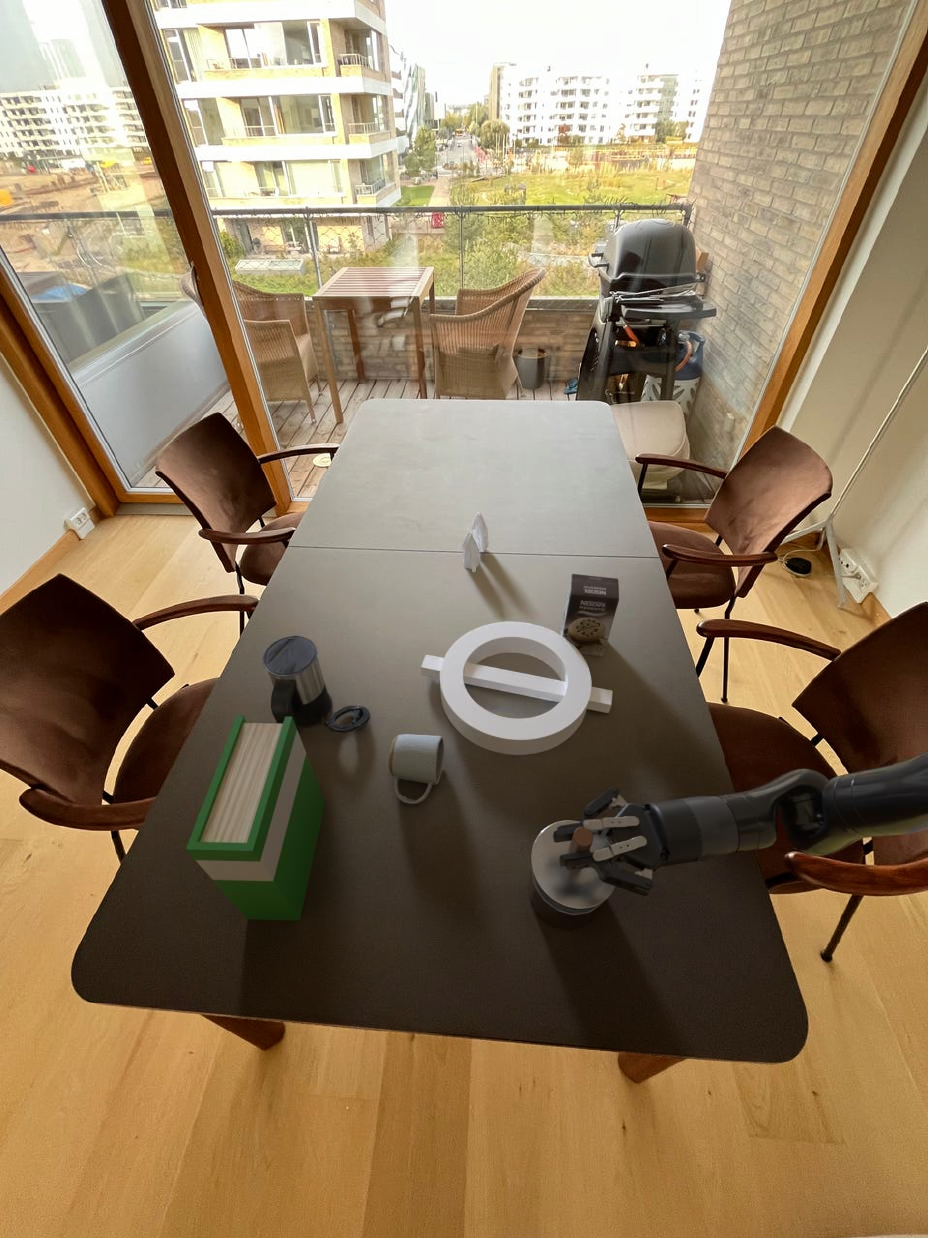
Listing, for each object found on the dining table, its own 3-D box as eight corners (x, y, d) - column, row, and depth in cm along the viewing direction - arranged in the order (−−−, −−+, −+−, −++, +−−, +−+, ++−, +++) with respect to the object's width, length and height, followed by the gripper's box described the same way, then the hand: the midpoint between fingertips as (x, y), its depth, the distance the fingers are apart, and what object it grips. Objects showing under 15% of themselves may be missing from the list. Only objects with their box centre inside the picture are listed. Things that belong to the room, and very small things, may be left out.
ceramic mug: (399, 747, 97) (394, 723, 91) (445, 752, 96) (443, 728, 91) (385, 804, 90) (380, 781, 84) (435, 810, 89) (433, 787, 83)
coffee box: (558, 652, 113) (569, 594, 101) (560, 630, 117) (570, 572, 106) (604, 658, 111) (619, 599, 100) (603, 635, 116) (618, 577, 105)
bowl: (615, 905, 79) (625, 887, 74) (556, 946, 75) (563, 930, 70) (570, 842, 85) (576, 822, 80) (514, 877, 81) (517, 858, 76)
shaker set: (475, 540, 139) (476, 502, 131) (491, 543, 138) (492, 506, 130) (459, 569, 131) (458, 531, 124) (475, 572, 130) (476, 534, 123)
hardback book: (280, 801, 90) (236, 715, 73) (325, 802, 90) (292, 716, 73) (247, 919, 77) (185, 849, 60) (299, 920, 77) (252, 851, 60)
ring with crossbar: (618, 711, 102) (623, 696, 99) (491, 782, 92) (492, 767, 89) (530, 619, 119) (532, 603, 116) (415, 670, 109) (413, 655, 106)
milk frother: (281, 692, 105) (261, 640, 95) (364, 676, 108) (353, 623, 98) (283, 756, 96) (261, 705, 85) (374, 736, 98) (363, 685, 88)
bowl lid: (635, 881, 72) (651, 853, 65) (565, 930, 68) (575, 905, 61) (580, 809, 79) (590, 777, 72) (514, 850, 75) (518, 820, 68)
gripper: (674, 765, 72) (546, 783, 71) (724, 874, 63) (577, 897, 61) (660, 792, 78) (540, 809, 76) (704, 897, 68) (568, 919, 66)
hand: (557, 849), depth 69 cm, fingers closed on bowl lid, 2 cm apart
